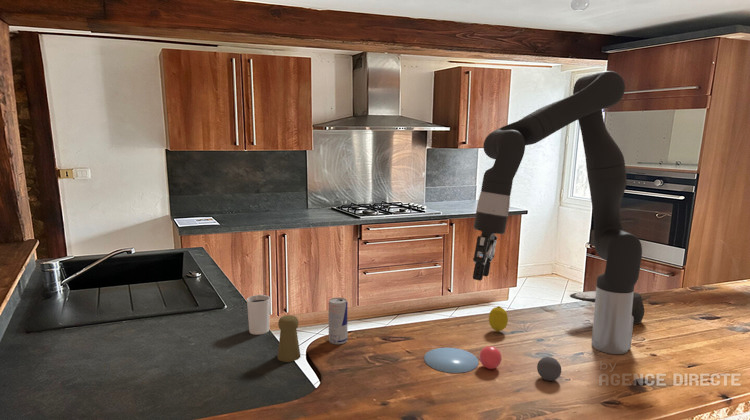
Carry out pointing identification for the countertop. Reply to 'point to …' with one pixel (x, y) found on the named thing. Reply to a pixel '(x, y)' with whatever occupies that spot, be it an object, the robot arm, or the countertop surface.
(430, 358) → the blue mark
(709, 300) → the countertop surface
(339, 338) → the energy drink
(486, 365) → the red ball
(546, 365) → the gray ball
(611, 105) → the robot arm
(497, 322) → the lemon
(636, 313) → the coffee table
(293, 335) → the cork
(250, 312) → the white cup
